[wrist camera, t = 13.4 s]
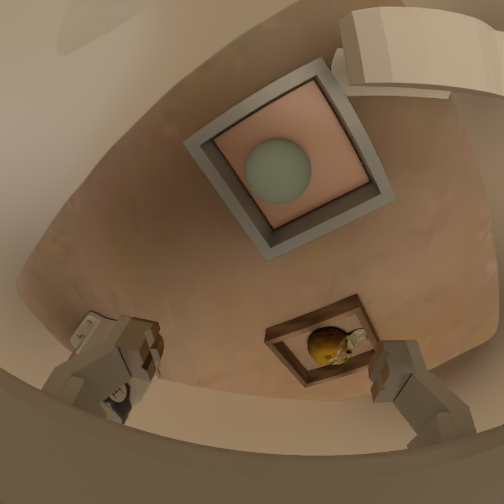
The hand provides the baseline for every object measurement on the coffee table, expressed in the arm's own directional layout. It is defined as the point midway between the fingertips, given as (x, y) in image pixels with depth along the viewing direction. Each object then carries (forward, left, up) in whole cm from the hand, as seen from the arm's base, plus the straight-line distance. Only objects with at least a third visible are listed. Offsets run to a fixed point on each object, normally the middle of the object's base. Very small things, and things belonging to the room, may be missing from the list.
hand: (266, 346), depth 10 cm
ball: (0, +1, -19) cm, 19 cm away
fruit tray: (-7, -24, -22) cm, 33 cm away
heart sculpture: (+15, +4, -22) cm, 27 cm away
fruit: (-6, -25, -23) cm, 34 cm away
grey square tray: (+1, +1, -22) cm, 22 cm away
